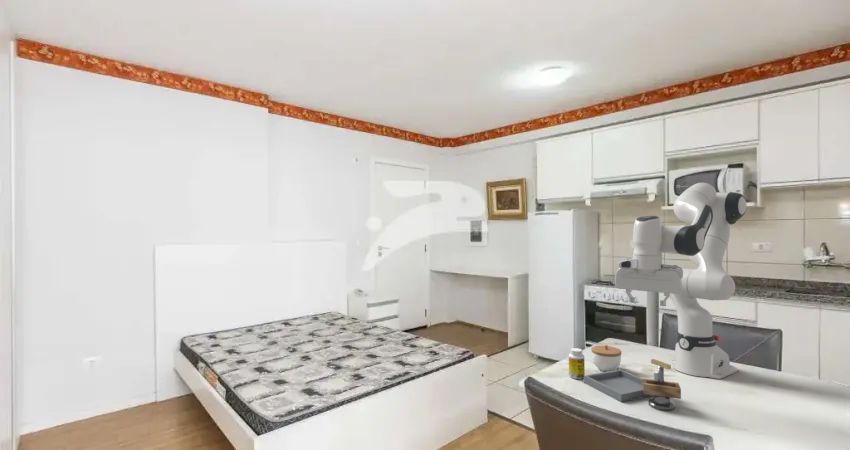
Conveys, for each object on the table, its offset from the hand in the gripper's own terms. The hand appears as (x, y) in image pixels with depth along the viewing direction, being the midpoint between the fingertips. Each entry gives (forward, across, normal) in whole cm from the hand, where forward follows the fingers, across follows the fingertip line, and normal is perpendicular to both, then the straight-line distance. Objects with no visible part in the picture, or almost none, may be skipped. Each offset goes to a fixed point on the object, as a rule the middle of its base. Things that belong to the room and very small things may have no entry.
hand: (647, 304), depth 139 cm
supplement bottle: (+30, +23, +2) cm, 38 cm away
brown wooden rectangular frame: (+26, -5, +6) cm, 27 cm away
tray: (+30, +8, +3) cm, 31 cm away
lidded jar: (+30, +17, -13) cm, 37 cm away
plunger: (+30, -6, +9) cm, 32 cm away
